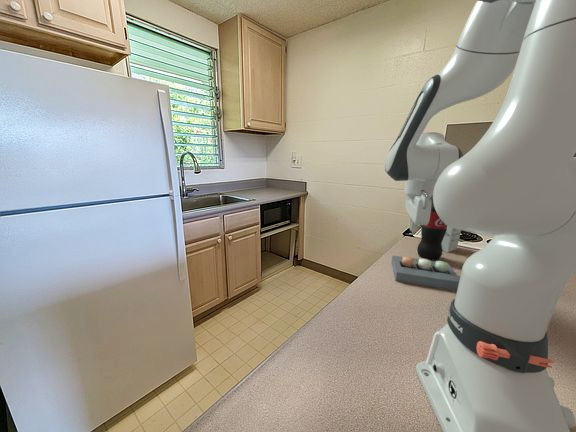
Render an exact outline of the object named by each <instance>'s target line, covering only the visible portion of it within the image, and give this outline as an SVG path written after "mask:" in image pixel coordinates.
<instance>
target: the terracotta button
mask: <svg viewBox="0 0 576 432" xmlns="http://www.w3.org/2000/svg"><path fill="white" fill-rule="evenodd" d="M401 257H402V265H404V266H407V267H413V265H414V258H415V257H412V256H406V255H405V256H401Z"/></svg>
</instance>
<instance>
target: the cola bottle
mask: <svg viewBox="0 0 576 432" xmlns="http://www.w3.org/2000/svg"><path fill="white" fill-rule="evenodd" d="M430 199H431V201H432V204H431V213H430V220H429V223H428V225H420V226H421V231H420V232H421V236H420V238H421V239H420V241H419V243H418V245H417V254H418V256H419V257H420V258H421V259H427V260H430V261H439V259H440V258H441V257H442V255H443V250H442V241H443V238H444V236H445V233H446V231H447V225H446V224H445V223H444V222H443V221H442V220H441V219H440V217H439V216H438V214H437V212H436V210H435V207H434V204H433V196H430Z"/></svg>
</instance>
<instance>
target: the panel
mask: <svg viewBox="0 0 576 432" xmlns="http://www.w3.org/2000/svg"><path fill="white" fill-rule="evenodd" d="M402 257H403V256H401V255H400V256H399V255H392V256H391V267H392V272H393V275H394V280H395V282H401V283H406V284H413V285H418V286H423V287H424V286H425V287H431V288H437V289H443V290H448V291H454V292H457V289H458V285H459V281H460V276H458V274H457V273H456V272H455V271H454V268H452V266H451V265H450V263H449V262H447V263H448V264H449V266H448V271H447V272H440V271H438V270H436V269H435V263H436V261H437V260H430V261H431V266H430V269H422V268H420V267H418V262H419V259H420V258H415V257H413V258H414V265H413V267H407V266H404V265H402Z"/></svg>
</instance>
